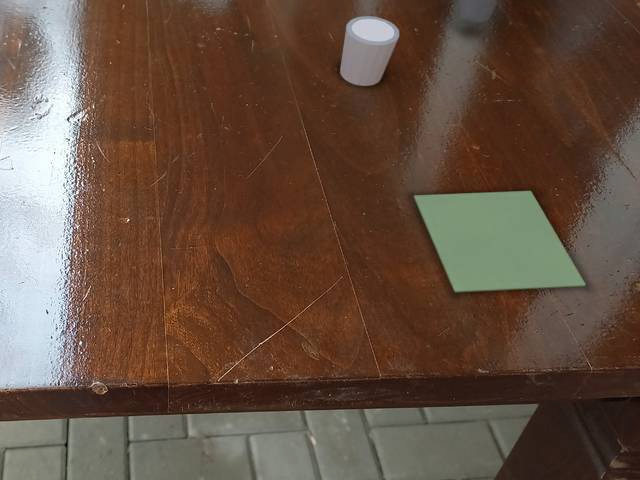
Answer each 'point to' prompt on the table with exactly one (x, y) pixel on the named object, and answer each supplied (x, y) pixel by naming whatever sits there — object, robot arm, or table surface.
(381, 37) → the white short cylinder
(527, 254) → the cloth
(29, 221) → the table surface
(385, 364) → the table surface
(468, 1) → the grey hollow cylinder
